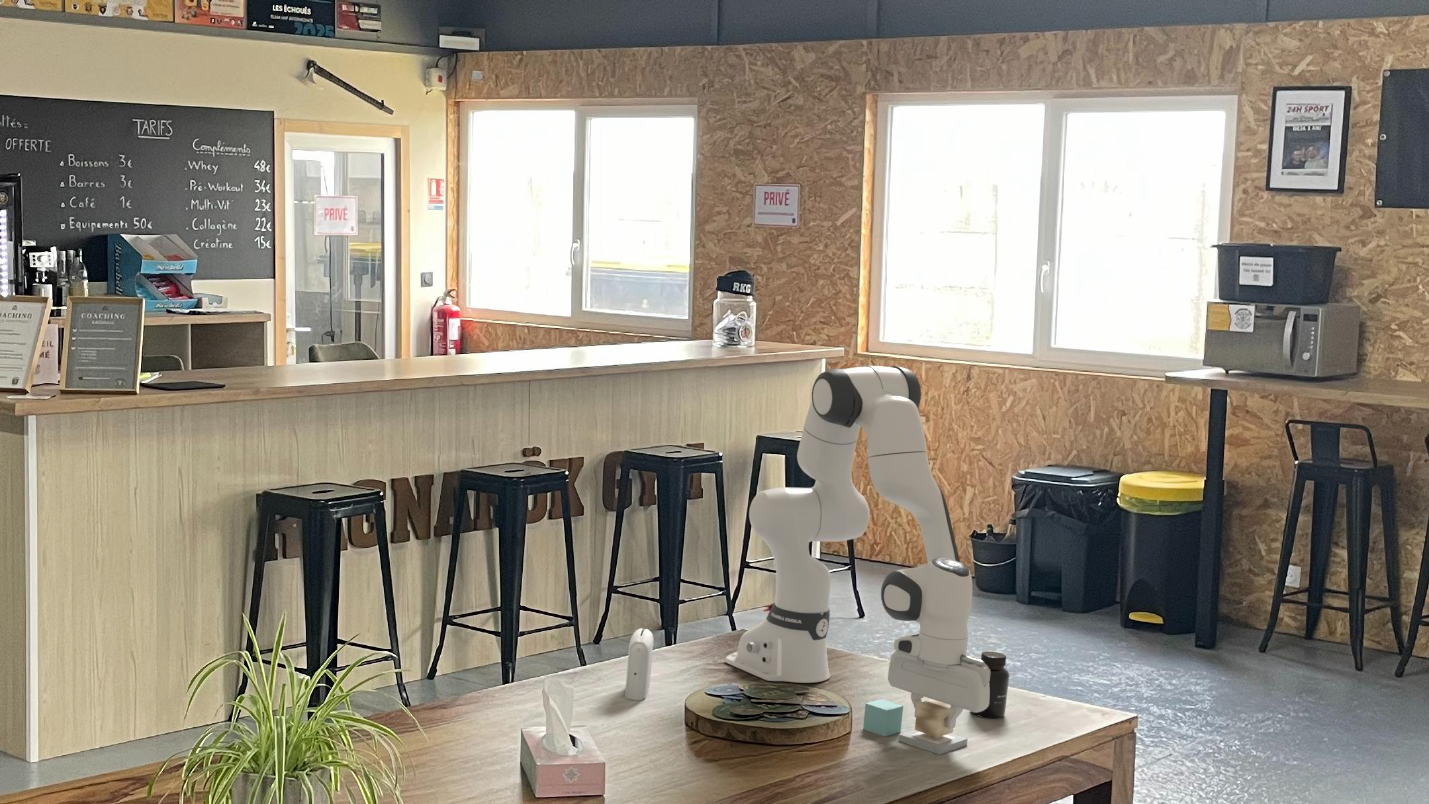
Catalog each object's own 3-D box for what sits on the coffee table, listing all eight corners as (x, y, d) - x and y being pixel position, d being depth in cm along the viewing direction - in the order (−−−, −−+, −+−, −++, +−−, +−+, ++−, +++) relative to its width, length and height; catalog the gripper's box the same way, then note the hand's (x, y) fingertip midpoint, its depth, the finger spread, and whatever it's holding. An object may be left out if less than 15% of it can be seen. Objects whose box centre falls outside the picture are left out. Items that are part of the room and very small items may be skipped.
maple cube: (914, 729, 289) (917, 703, 289) (930, 725, 293) (932, 698, 293) (937, 737, 286) (940, 710, 286) (952, 732, 290) (955, 706, 289)
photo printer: (645, 702, 300) (650, 638, 299) (623, 699, 300) (628, 636, 299) (651, 686, 310) (656, 625, 309) (629, 684, 310) (634, 622, 309)
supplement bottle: (1004, 721, 307) (1010, 661, 306) (969, 716, 308) (975, 656, 307) (1005, 711, 314) (1011, 652, 313) (970, 706, 315) (976, 647, 314)
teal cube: (863, 729, 295) (865, 703, 294) (878, 724, 298) (881, 698, 298) (884, 736, 291) (887, 710, 291) (900, 731, 295) (903, 705, 295)
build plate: (898, 740, 289) (898, 734, 289) (926, 731, 296) (926, 725, 296) (939, 754, 284) (940, 747, 283) (966, 745, 290) (967, 738, 290)
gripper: (1000, 660, 283) (992, 735, 285) (906, 633, 297) (899, 705, 298) (981, 665, 279) (973, 741, 280) (887, 638, 292) (879, 711, 294)
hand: (934, 722), depth 289 cm, fingers closed on maple cube, 5 cm apart
